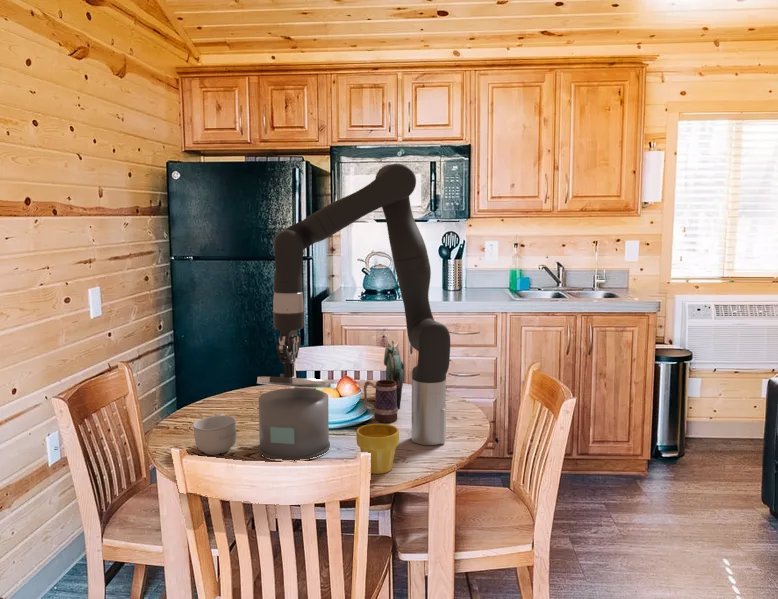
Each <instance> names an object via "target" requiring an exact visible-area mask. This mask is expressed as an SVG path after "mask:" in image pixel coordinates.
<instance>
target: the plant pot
mask: <svg viewBox="0 0 778 599" xmlns="http://www.w3.org/2000/svg"><path fill="white" fill-rule="evenodd" d="M355 431H356V445H357V446H358V448H359V449H360V453H361V452H368V453H371V474H374V475H375V474H376V475H377V474H378V475H379V474H387V473H389V472H390V471H391V470H392V468H393V464H394V459H395V454H396V450H397V447H398V445H399V443H400V431H399V428H398V427H396V426H394V425H392V424H390V423H370V424H365V425H362V426H359V427H358V428H357V429H356V430H355Z"/></svg>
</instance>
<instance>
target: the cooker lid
mask: <svg viewBox="0 0 778 599" xmlns="http://www.w3.org/2000/svg"><path fill="white" fill-rule="evenodd" d="M256 384H258V385H259V384H260V385H269V386H283V387H294V388H295V387H300V388H316V389H318V388H320V389H323V388H324V389H327V388H330V389H331V387H332V385H331V384H332V381H331V380H325V379H316V378H304V377H303V378H302V377H292V378H290V377H284V373H280V375H279V376H257V381H256Z"/></svg>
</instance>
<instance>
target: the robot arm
mask: <svg viewBox="0 0 778 599" xmlns="http://www.w3.org/2000/svg"><path fill="white" fill-rule="evenodd" d="M416 178H417V177H416V174H415V172H414V171H413V169H412V168H411V167H409V166H408V165H406V164H403V163H391V164H386V165H384V166H382V167H381V168H379V170H378V171H377V172H376V175H375V179H373V180H372V181H371V182H370V183H368V184H367V185H365V186H364V187H362V188H361V189H359V190H357V191H355V192H353V193H351V194H349V195H347V196H345V197H342V198H340V199H337V200H334V201H333V202H331V203H328V204H327V205H325V206H323V207H322V208H320V209H318V210H316V211H315V212H313V213H311V214H310V215H308V216H307V217H306V218H304V219H303V220H301V221H298V222H297V223H294V224H293V225H290V226H288V227H285V229H282V230H281V231H279V232H277V234H275V236H274V237H273V242H272V246H273V250H274V252H273V253H274V267H275V271H274V274H273V275H274V276H273V298H272V299H273V303H272V304H273V305H272V310H273V313H272V315H273V328H274V330H277V331H280V333H279V337H278V343H279V344H276V347H275V350H276V353H277V357H278V359H279V361H280V363H282V364H283V374H284V377H290V378H295V362H296V359H298V356H299V350H300V346H301V341H302V337H299V335H298V331H300V330H302V329H303V328H304V326H305V323H304V322H305V321H304V318H305V317H304V315H305V314H304V313H305V310H304V309H305V308H304V295H303V294H304V293H303V273H302V270H303V260H304V250H305V249H307V248H309V247H311V246H312V245H314V244H315V243H319V242H322V241H324V240H326V239H328V238H330V237H332V236H333V235H335V234H336V233H338V232H340V231H341V230H343V229H344V228H347V227H348V226H350V225H351V224H353V223H355V222H357V221H359V219H362V217H365V216H367V215H368V214H370V213H372V212H374V211H376V210H378V209H380V208H381V209H382V211H383V214H384V217H385V222H386V223H385V224H386V227H387V233H388V234H387V235H388V240H389V245H390V251H391V256H392V260H393V261H392V262H393V266H394V269H395V274H396V277H397V281H398V287H399V291H400V295H401V300H402V302H403V308H404V314H405V322H406V331H407V332H406V333H407V340H408V342H409V343H410V346H411V347H412V348H413V349H414V350H416V351H417V352H418V356H417V357H418V358H417V359H418V360H417V365H416V366H414V367H413V368H412V370H411V434H410V435H411V441H412V442H413V443H415V444H418V445H421V446H437V445H444V444H445V442H446V437H447V404H446V402H447V396H446V395H447V394H446V391H447V373H448V371H449V368H450V367H449V366H450V356H451V334H450V332H449V329H448V327H447V326H446V325H444V323H441V322H438V321H435V319H434V316H433V313H432V310H431V305H430V300H429V291H430V283H431V278H432V277H431V275H432V272H431V270H432V269H431V264H430V258H429V255H428V254H429V253H428V250H427V247H426V244H425V243H426V242H425V240H424V238H423V236H422V235H423V234H421V231H420V229H419V227H418V225H417V223H416V221H415V218H414V215H413V213H412V207H411V201H410V200H411V199H410V196H411V195H412V194H413V192H414V191H415V189H416V184H417V179H416Z"/></svg>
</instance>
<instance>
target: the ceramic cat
mask: <svg viewBox="0 0 778 599" xmlns="http://www.w3.org/2000/svg"><path fill="white" fill-rule="evenodd" d="M394 344H395V342H394V340H391V344H390V343H389V342H387V346H386V347H385V350H384V358H383V365H384V366H385V367H386V368H385V380H393V381H395V382H396V385H397V388H396V392H397V407H398V410H400V409H401V403H402V402H401V401H402V394H403V393H402V392H403V385H404V381H405V367H404V364H405V363H403V361H402V358H401V355H400V351H399V347H398V346H394Z"/></svg>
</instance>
